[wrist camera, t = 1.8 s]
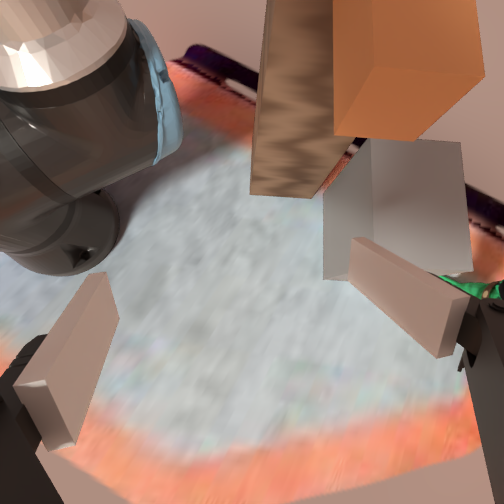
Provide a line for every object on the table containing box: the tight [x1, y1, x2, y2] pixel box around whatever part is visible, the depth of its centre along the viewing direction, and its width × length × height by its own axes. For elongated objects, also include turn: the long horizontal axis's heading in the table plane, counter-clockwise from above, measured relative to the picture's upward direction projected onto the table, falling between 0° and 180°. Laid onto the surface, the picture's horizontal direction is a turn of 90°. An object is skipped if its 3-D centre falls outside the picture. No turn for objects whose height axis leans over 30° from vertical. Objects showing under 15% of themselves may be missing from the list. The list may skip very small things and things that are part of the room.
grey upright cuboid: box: [323, 138, 474, 281], centre depth 36 cm, size 10×14×16 cm
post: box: [250, 0, 356, 199], centre depth 31 cm, size 10×10×30 cm
